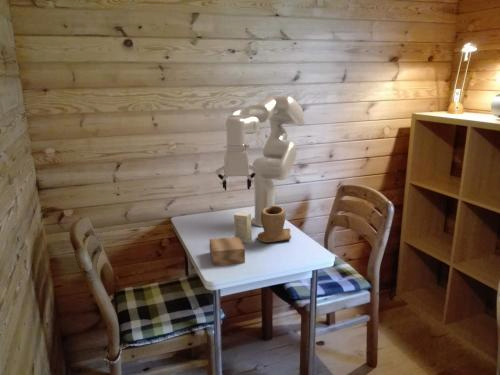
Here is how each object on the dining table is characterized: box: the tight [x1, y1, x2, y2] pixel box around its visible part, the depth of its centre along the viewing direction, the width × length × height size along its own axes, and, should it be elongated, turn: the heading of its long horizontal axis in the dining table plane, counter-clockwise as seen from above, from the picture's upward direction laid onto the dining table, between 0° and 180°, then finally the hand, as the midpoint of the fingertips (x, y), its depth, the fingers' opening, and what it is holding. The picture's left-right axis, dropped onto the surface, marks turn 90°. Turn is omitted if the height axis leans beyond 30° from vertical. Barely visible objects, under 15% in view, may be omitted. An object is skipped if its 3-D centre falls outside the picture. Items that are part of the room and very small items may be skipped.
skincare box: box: [233, 211, 253, 244], centre depth 172 cm, size 6×4×12 cm
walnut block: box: [209, 236, 246, 267], centre depth 157 cm, size 12×12×6 cm
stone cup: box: [257, 205, 292, 243], centre depth 172 cm, size 15×12×15 cm
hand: (236, 189), depth 168 cm, fingers open, 9 cm apart
